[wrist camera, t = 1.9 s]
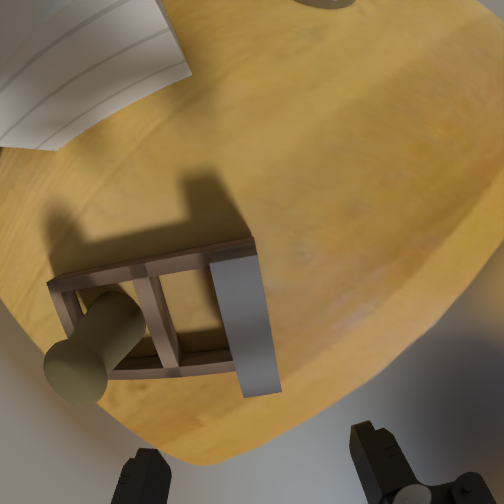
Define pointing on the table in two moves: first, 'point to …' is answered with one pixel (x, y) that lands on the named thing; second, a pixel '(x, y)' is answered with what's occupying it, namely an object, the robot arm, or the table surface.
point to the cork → (94, 348)
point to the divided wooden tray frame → (160, 324)
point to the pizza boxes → (79, 65)
